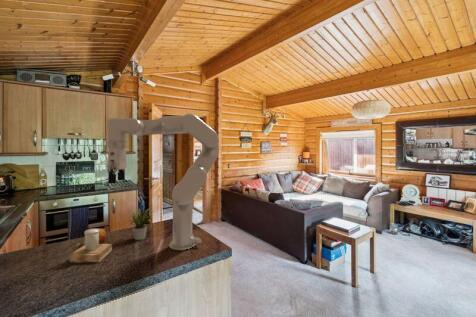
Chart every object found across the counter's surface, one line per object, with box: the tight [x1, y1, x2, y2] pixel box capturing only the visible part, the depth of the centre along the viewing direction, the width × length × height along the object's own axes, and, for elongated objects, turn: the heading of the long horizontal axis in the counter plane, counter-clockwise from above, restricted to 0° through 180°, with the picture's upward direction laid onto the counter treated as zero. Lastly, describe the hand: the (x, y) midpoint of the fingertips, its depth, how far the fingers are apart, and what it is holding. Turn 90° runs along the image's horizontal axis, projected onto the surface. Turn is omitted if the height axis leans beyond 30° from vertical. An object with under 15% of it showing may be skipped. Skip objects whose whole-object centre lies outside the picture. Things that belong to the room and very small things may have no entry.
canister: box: [83, 228, 100, 251], centre depth 109 cm, size 6×6×8 cm
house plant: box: [128, 208, 155, 241], centre depth 132 cm, size 14×14×16 cm
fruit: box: [98, 228, 107, 244], centre depth 125 cm, size 8×8×8 cm
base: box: [69, 243, 113, 263], centre depth 110 cm, size 12×12×3 cm
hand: (116, 181), depth 116 cm, fingers open, 9 cm apart
